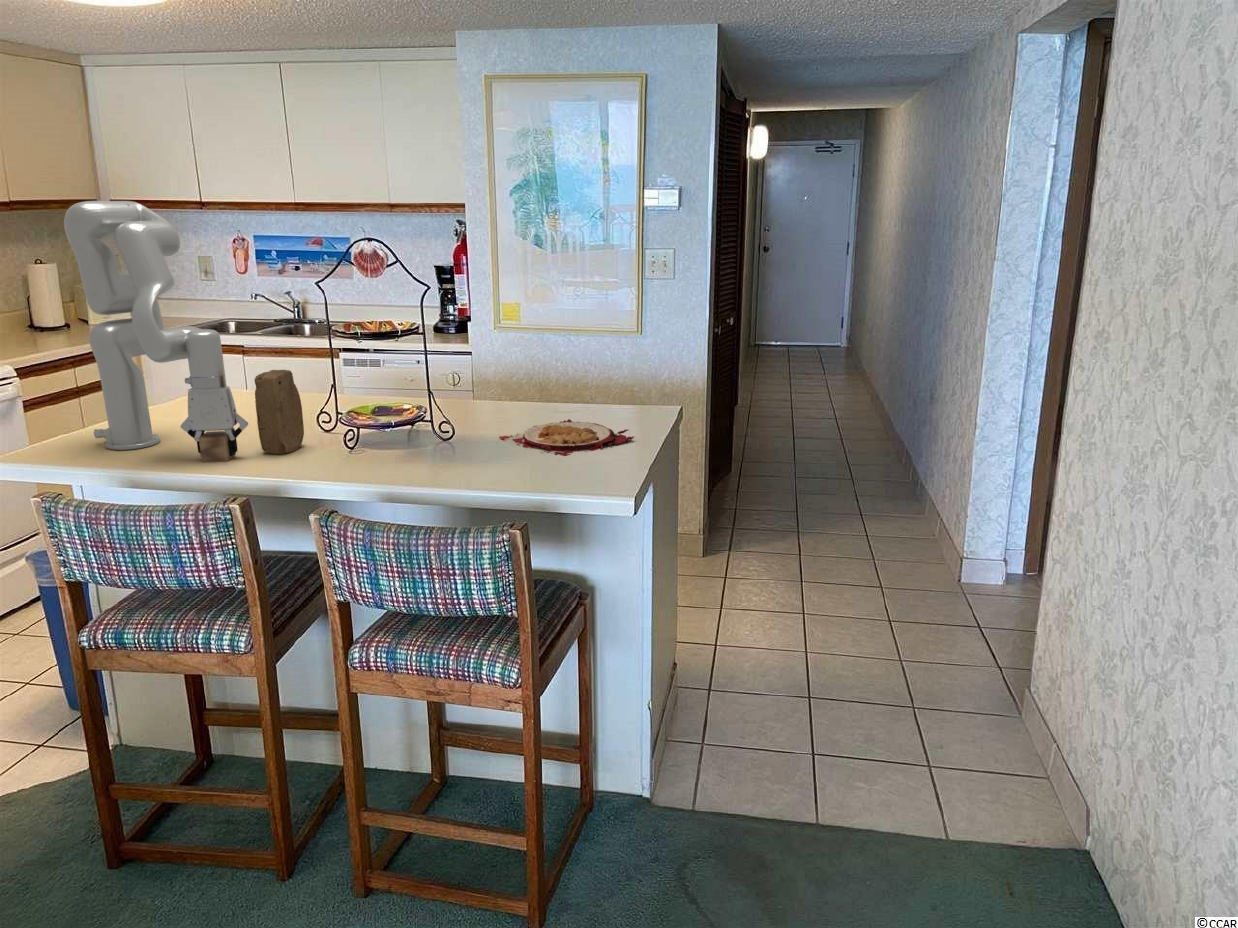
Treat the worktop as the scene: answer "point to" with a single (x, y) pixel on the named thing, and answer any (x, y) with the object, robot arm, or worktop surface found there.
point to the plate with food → (569, 437)
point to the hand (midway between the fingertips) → (218, 454)
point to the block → (278, 412)
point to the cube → (214, 446)
